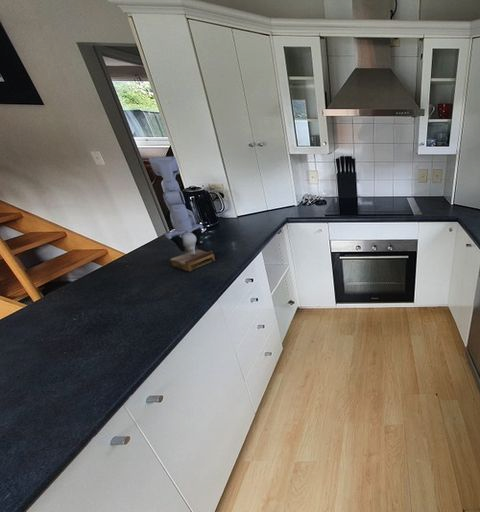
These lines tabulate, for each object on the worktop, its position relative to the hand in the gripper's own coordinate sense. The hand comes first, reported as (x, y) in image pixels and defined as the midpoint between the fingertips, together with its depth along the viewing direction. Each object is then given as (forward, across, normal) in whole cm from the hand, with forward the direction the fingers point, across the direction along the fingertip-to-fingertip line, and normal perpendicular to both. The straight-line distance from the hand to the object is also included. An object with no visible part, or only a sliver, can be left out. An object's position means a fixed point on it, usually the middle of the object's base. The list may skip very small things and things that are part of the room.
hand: (190, 248), depth 123 cm
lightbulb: (+4, 0, 0) cm, 4 cm away
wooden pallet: (+7, -1, -1) cm, 7 cm away
